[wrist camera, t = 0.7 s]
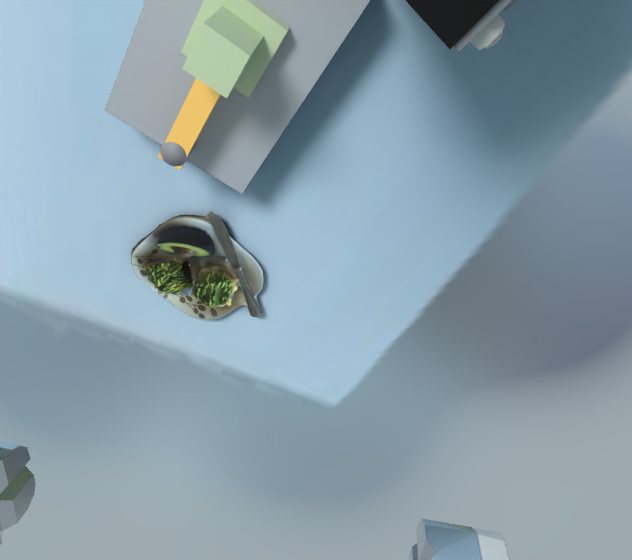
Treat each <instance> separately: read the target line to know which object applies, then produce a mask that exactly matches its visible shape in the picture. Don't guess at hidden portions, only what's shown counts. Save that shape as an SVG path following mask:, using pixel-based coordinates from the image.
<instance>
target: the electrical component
mask: <svg viewBox="0 0 632 560" xmlns="http://www.w3.org/2000/svg"><path fill="white" fill-rule="evenodd" d="M406 1H407V2H408V4H409V5H410V6H411V7H412V8H413V9H414V10H415V11H416V12H417V13H418V15H419V16H420V17H421V18H422V19H423V20H424V21H425V22H426V23H427V25H428V26H429V27H430V28H431V29H432V30H433V31H434V32H435V33H436V34H437V36H438V37H439V38H440V39H441V40H442V41H443V42H444V43H445V44H446V46H447V47H448V48H449V49H451V48H452V47H453V46H454V47H455V48H456V49H457V50H458V51H459V52H460V51H461V50H462V49H463V48H464V47H465V46H466V45H467V44H468V43H469V42H471V43H472V44H473V45H474V47H476V48H477V49H478V50H481V49H483V48H485V49H487V48H490V47H493V46H494V45H495V44H496V43H497V42H498V41H499V40H500V39H501V37H502V35H503V28H504V26H505V24H506V22H505V21H504V20H503V19H502V18H501V16H500V15H499V13H500V12H501V11H502V10H503V9H505V10H507V9H508V8H509V7H510V6H511V5H512V4H513V3H514V2H516V1H517V0H406Z"/></svg>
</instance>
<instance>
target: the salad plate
mask: <svg viewBox="0 0 632 560" xmlns="http://www.w3.org/2000/svg"><path fill="white" fill-rule="evenodd" d="M158 250H159V251H158ZM225 258H227V259H228V260H229V261H228V262H226V261H225V260H224V259H225ZM131 263H132V266H133V270H134V272H135V274H136V276H137V277H138V278H139V279H140V280H141V281H142V282H143V283H144V284H145V285H147V286H148V287H149V288H151V289H152V290H154V291H155V292H157V293H158V294H159V295H161V296H162V297H163V298H165V299H166V300H168V301H169V302H170V303H171V304H173V306H175V307H177V308H178V309H180V310H181V311H183V312H184V313H185V314H187V315H189V316H191V317H194V318H198V319H208V320H212V319H218V318H221V317H223V316H225V315H226V314H228V313H230V312H231V311H233V310H234V309H236V308H237V307H240V306H243V305H244V306H246V307H247V308H248V310H249V312H250V315H251V316H253V317H259V316H261V313H262V312H261V308H260V306H259V303H258V301H257V295H258V294H259V292H260V291H261V289H262V288H263V270H262V268H261V267H260V265H259V263H258V262H257V261H256V260H255V258H254V257H253V256H252V255H251V254H250V253H249V252H248V251H246V250H245V249H244V248H243V247H242V246H241V245H240V244H239V243H238V242H236V241H235V240H234V239H233V238H232V237H231V236H230V235H229V232H228V230H227V228H226V226H225V225H224V223H223V221H222V220H221V218H220V217H219V216H217V215H215V214H214V213H212V212H210V213H209V214H208V216H197V215H179V216H176V217H173V218H171V219H169V220H167V221H166V222H164V223H162V224H160V225H159V226H158V227H157V228H156V229H155V230H154V231H152V232H151V233H150V234H149V235H147V236H146V237H145V238H143V239H142V240H141V241H139V242H138V244H137V245H136V246H135V247H134V248H133V250H132V254H131ZM188 263H189V264H190V266H191V267H190V266H189V265H188ZM191 286H194V287H193V290H192V293H191V296H193V297H191V296H189V295H187V294H184V293H183V292H182V288H187V289H188V288H191ZM194 297H195V298H194Z"/></svg>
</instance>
